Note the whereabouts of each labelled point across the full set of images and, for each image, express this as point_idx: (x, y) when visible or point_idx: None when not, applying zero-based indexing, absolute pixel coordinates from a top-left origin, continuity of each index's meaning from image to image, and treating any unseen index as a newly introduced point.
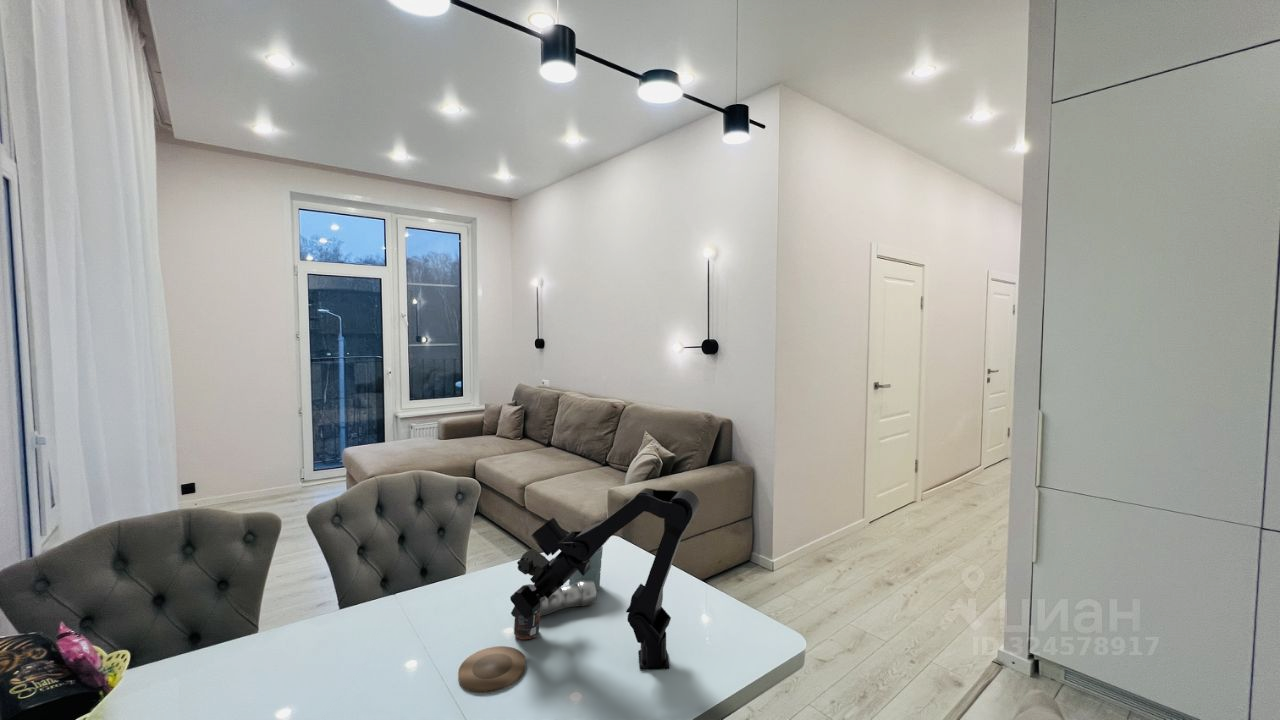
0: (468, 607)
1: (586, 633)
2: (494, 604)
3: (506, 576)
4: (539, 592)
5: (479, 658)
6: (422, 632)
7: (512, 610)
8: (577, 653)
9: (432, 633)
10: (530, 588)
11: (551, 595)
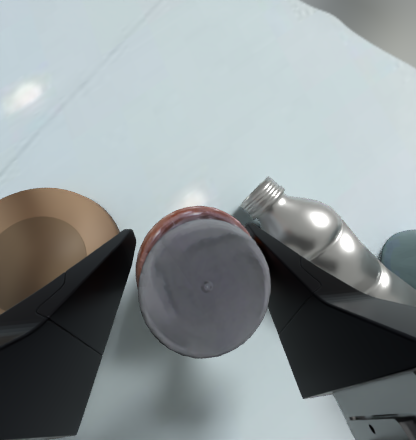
0: (233, 77)
1: (254, 394)
2: (264, 117)
3: (361, 79)
4: (273, 288)
5: (55, 215)
6: (126, 51)
7: (107, 241)
8: (170, 426)
9: (129, 69)
10: (203, 308)
11: (323, 269)
